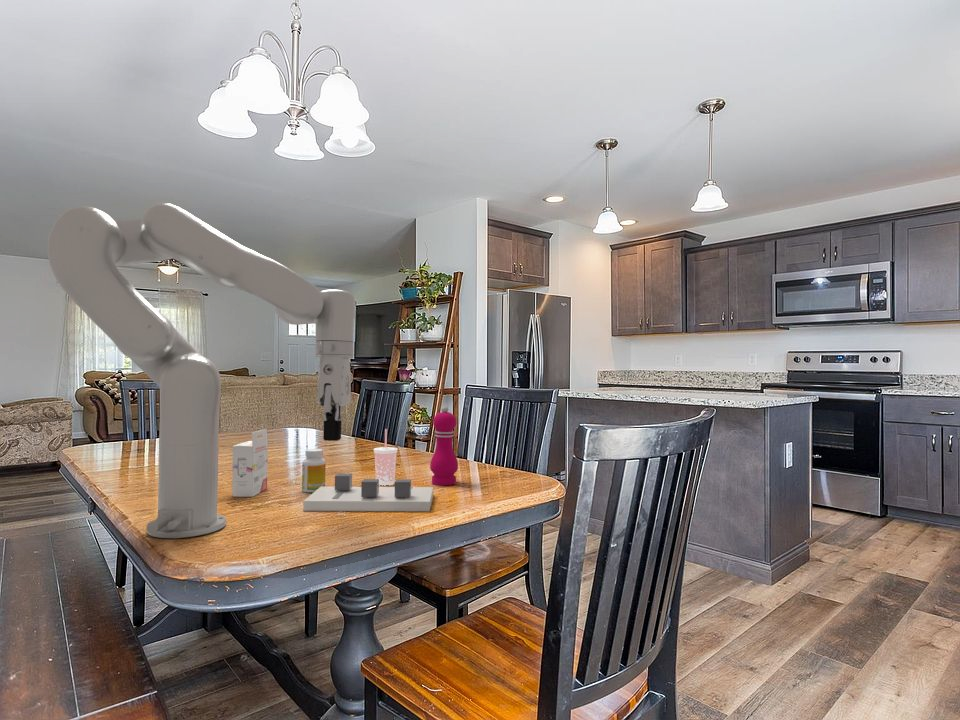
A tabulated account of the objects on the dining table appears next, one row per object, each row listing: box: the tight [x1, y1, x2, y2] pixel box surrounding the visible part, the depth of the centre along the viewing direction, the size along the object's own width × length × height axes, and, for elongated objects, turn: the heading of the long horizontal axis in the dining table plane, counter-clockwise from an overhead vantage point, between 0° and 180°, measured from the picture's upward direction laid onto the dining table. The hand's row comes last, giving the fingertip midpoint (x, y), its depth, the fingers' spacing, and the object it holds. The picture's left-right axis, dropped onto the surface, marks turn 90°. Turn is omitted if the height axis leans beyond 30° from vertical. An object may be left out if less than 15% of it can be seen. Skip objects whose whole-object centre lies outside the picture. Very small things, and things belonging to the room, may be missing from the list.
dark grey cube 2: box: [360, 478, 380, 497], centre depth 117 cm, size 3×3×3 cm
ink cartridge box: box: [231, 428, 269, 498], centre depth 128 cm, size 9×5×15 cm, turn 179°
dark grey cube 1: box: [334, 472, 353, 491], centre depth 123 cm, size 3×3×3 cm
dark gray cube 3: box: [394, 478, 412, 497], centre depth 117 cm, size 3×3×3 cm
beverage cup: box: [373, 428, 399, 487], centre depth 140 cm, size 6×6×14 cm
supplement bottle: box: [301, 448, 327, 493], centre depth 132 cm, size 5×5×10 cm
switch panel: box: [302, 486, 434, 512], centre depth 120 cm, size 14×26×2 cm, turn 92°
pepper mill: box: [429, 405, 459, 486], centre depth 142 cm, size 7×7×20 cm
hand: (332, 439), depth 112 cm, fingers closed
